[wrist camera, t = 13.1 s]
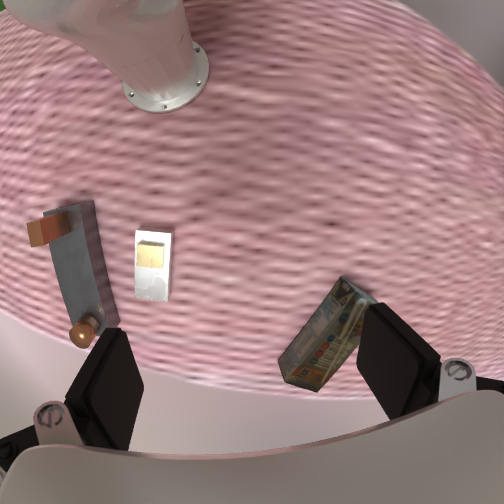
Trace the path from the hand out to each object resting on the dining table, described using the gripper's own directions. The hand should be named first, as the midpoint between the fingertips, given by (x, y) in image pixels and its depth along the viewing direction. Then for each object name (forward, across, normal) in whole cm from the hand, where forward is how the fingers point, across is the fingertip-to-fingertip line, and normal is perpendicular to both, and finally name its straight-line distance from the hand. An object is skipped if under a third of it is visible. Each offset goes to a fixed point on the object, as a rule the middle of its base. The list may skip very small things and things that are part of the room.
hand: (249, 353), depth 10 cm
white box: (+31, +11, +6) cm, 33 cm away
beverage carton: (+31, -15, +20) cm, 39 cm away
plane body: (+30, +23, +6) cm, 38 cm away
